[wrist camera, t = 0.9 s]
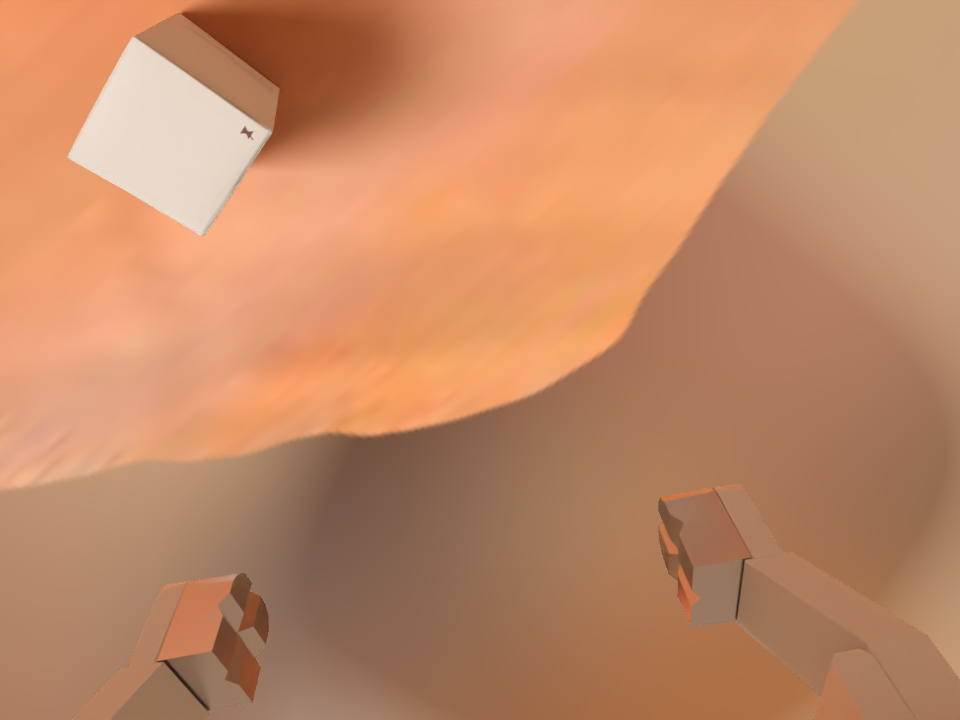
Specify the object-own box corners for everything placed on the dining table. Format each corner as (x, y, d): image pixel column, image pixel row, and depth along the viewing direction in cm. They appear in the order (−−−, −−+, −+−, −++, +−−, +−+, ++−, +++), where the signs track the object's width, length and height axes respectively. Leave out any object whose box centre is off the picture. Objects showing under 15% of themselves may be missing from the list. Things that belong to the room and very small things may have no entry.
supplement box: (177, 8, 38) (133, 28, 28) (283, 89, 42) (278, 133, 32) (121, 105, 40) (60, 157, 30) (226, 174, 44) (205, 241, 34)
